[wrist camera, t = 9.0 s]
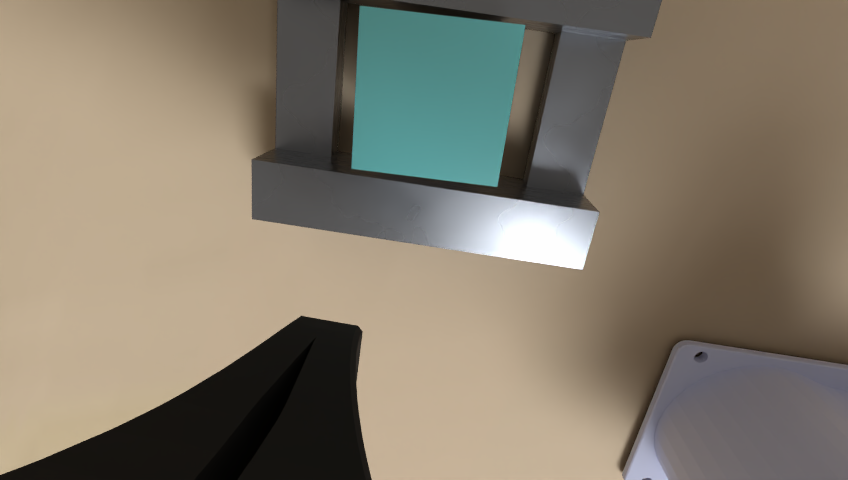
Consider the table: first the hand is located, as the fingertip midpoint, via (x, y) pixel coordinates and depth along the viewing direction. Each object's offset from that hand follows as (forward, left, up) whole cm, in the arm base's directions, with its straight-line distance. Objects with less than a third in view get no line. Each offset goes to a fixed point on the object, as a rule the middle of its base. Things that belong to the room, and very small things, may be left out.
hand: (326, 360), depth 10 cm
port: (-1, -5, -9) cm, 10 cm away
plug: (-1, -5, -9) cm, 10 cm away
